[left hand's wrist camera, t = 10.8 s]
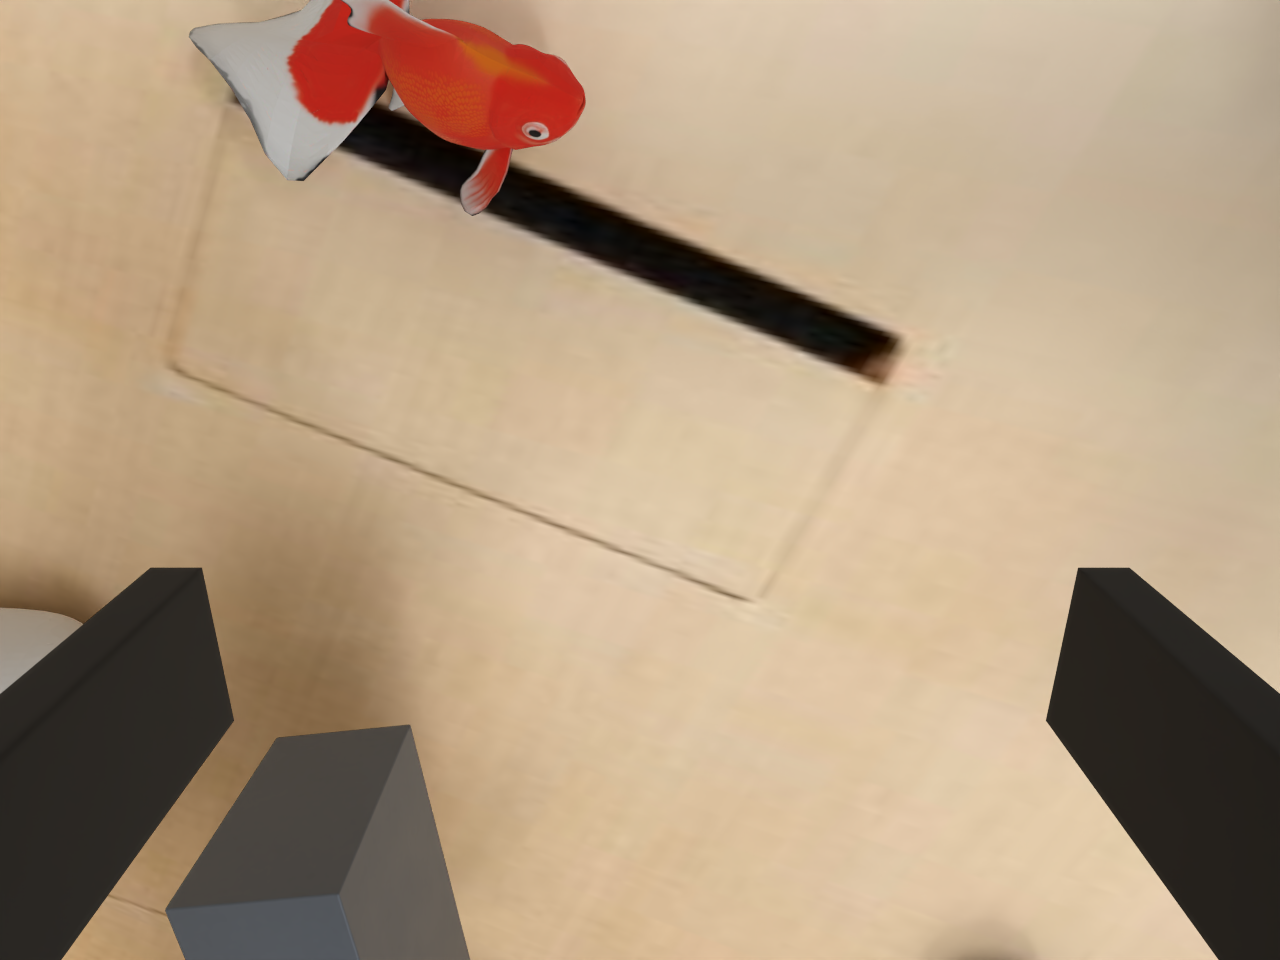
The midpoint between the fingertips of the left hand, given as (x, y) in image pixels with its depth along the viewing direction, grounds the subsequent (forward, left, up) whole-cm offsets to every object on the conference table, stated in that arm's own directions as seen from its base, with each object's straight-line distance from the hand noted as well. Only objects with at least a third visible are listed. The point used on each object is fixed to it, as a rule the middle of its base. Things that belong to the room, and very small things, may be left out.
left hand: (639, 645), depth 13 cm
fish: (+3, -14, -29) cm, 32 cm away
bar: (+23, +18, -17) cm, 34 cm away
